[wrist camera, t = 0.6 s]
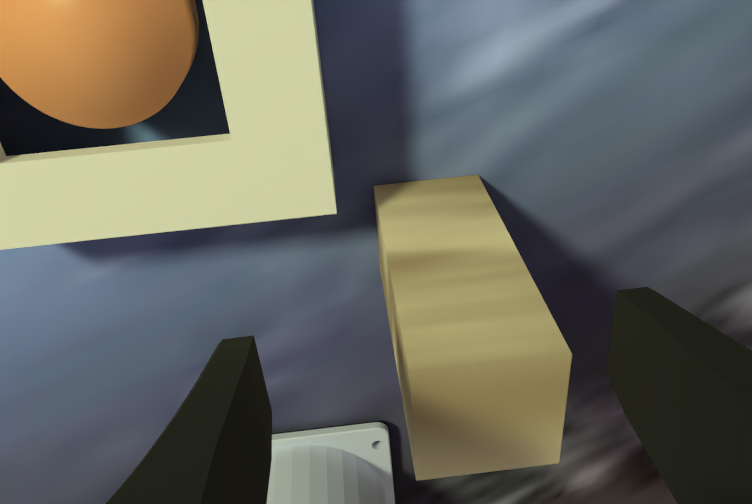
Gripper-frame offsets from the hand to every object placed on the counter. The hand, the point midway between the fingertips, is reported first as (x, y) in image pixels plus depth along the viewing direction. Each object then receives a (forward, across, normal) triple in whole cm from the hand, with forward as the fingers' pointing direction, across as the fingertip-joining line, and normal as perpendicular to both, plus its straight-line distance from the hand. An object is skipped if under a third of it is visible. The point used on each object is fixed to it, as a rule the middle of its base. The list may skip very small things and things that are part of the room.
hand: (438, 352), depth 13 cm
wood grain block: (+9, -1, +3) cm, 10 cm away
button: (+8, +7, -5) cm, 12 cm away
